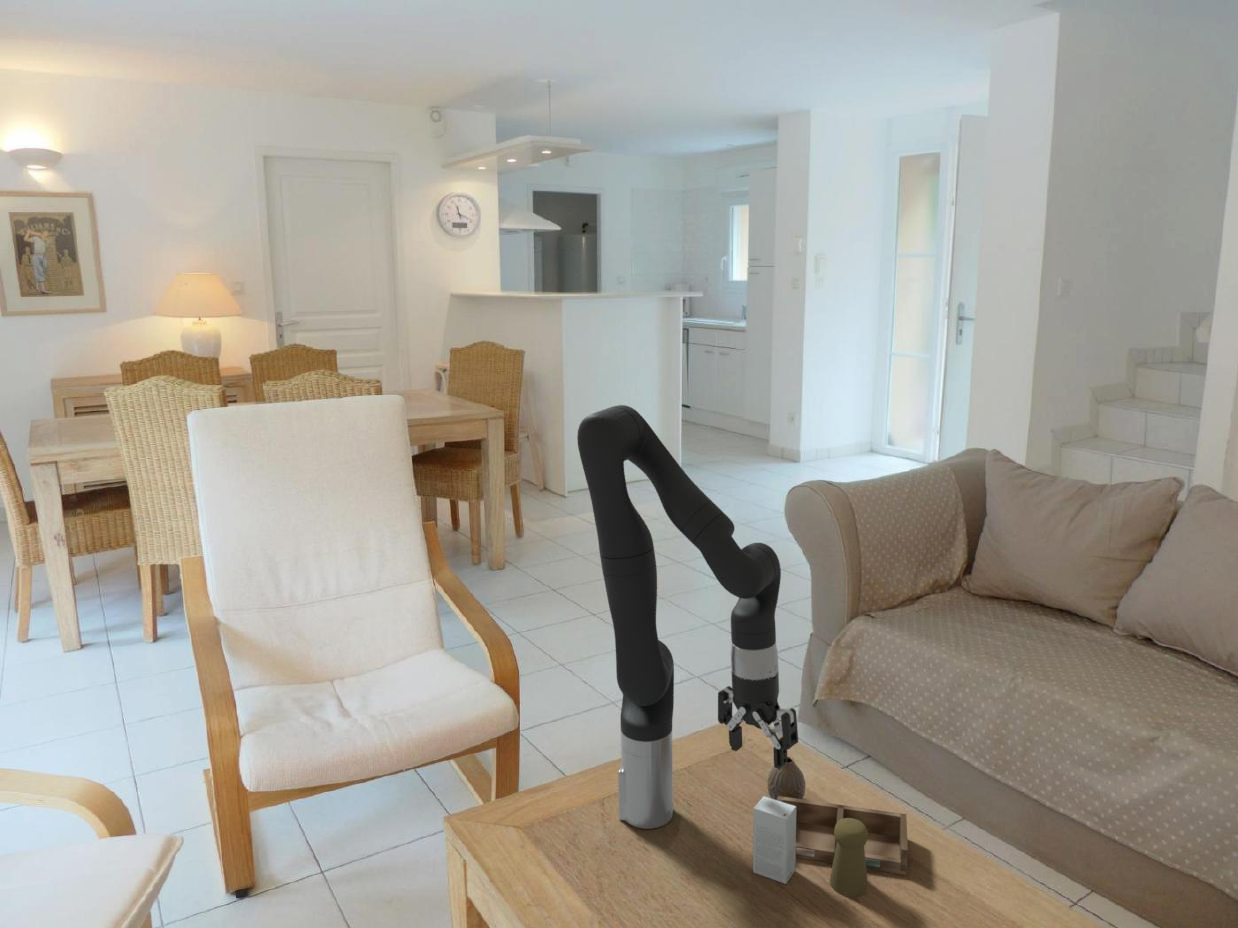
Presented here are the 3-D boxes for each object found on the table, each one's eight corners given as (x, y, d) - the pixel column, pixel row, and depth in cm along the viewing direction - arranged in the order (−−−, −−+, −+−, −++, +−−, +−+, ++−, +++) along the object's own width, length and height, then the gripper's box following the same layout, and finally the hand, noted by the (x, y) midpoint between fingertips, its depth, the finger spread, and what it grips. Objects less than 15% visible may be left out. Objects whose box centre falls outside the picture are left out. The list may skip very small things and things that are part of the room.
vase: (804, 814, 164) (806, 771, 162) (766, 810, 165) (767, 768, 163) (804, 793, 170) (806, 751, 168) (767, 789, 172) (768, 747, 170)
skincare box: (796, 870, 149) (797, 805, 147) (786, 885, 146) (787, 819, 143) (762, 857, 152) (763, 794, 150) (751, 872, 149) (752, 807, 146)
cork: (846, 901, 142) (849, 839, 139) (821, 878, 147) (823, 818, 145) (876, 888, 145) (879, 828, 142) (850, 866, 150) (852, 808, 147)
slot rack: (770, 853, 153) (771, 829, 152) (777, 818, 163) (777, 795, 162) (906, 875, 147) (907, 850, 146) (904, 837, 157) (906, 814, 156)
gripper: (705, 663, 147) (709, 752, 151) (778, 688, 137) (781, 782, 141) (733, 647, 152) (736, 734, 156) (805, 670, 143) (807, 761, 146)
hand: (758, 757), depth 149 cm, fingers open, 8 cm apart
